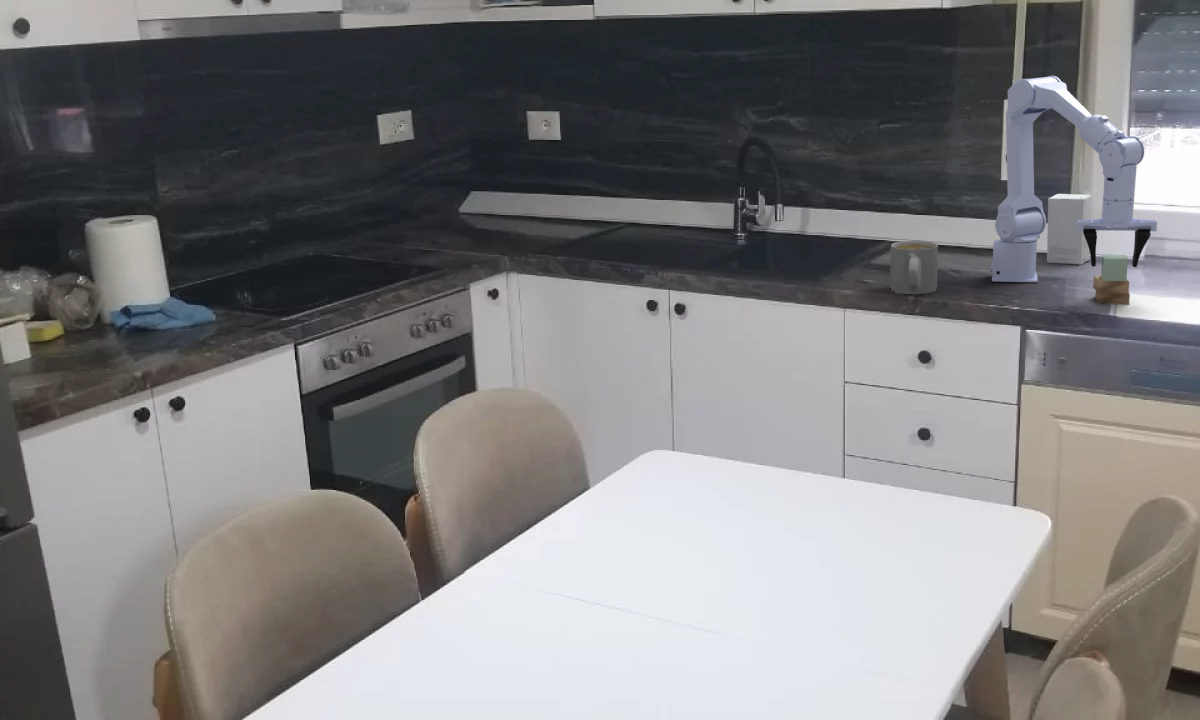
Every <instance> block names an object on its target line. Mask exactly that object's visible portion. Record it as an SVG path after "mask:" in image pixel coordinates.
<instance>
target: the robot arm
mask: <svg viewBox="0 0 1200 720" xmlns="http://www.w3.org/2000/svg"><path fill="white" fill-rule="evenodd" d="M1050 109H1052V110H1054V111H1055V112H1056V113H1058V114H1060V115H1061V116H1062V117H1063V118H1065V119H1066V120H1067V121H1069V122H1070V123H1071V124H1072V125H1074V126H1075V127H1077V128H1078V136H1079V138H1080V139H1081V140H1083V142H1084V143H1086V144H1087V145H1088V146H1090V148H1092V149H1093V151H1095V152H1096V153H1097V154H1098V158H1099V162H1100V164H1101V166H1102V175H1103V177H1104V178H1103V180H1104V181H1103V192H1102V193H1103V195H1102V209H1101V210H1102V211H1101V218H1099V219H1098V218H1096V219H1095V218H1094V219H1091V220H1078V227H1077V230H1078V231H1083V234H1084V237H1085V239H1086V241H1087V244H1088V247H1089V250H1090V260H1091V261H1090V264H1091V267H1092V268H1093V267H1094V268H1095V267H1097V266H1096V265H1097V264H1096V263H1097V255H1096V254H1097V252H1096V251H1097V241H1098V234H1097V233H1098V232H1097V231H1120V232H1121V231H1125V232H1126V231H1127V232H1129V231H1133V232H1134V243H1133V244H1134V245H1133V254H1132V263H1131V266H1132V267H1133V268H1137V266H1138V263H1139V259H1140V257H1141V254H1142V253H1143V250H1144V247H1145V246H1146V244H1147V243H1148V241H1149V239H1150V237H1151V233H1152V232H1157V227H1158V221H1157V220H1156V219H1136V218H1133V217H1134V206H1135V205H1134V204H1135V192H1136V179H1137V178H1136V176H1137V166H1138V165H1139V164H1140V163H1142V161H1143V160H1144V156H1145V147H1144V144H1143V142H1142V141H1141V140H1140V138H1139V137H1137V136H1135V135H1131V136H1128V135H1126V134H1125V132H1124V131H1123V130H1119V129H1118V128H1117V127H1116V126H1115V125H1114V124H1112V123H1111V122H1110V121H1109V120H1110V118H1109V117H1108V116H1106V115H1102V114H1093V115H1092V114H1091V112H1089V110H1087V108H1086V107H1084V105H1082V104H1081V103H1080V102H1079V101H1078V100H1077V99H1076V98H1075V96H1074V95H1073V94H1071V92H1070V91H1068V86H1067V84H1066V82H1064V81H1061V79H1060V78H1059V77H1058V76H1055V75H1049V76H1045V77H1036V78H1035V77H1034V78H1020V79H1017V80H1015V82H1014V83H1013V84H1012V85H1011V86H1010V87H1009V88H1008V89H1007V109H1006V114H1005V131H1006V132H1005V137H1006V138H1005V139H1006V142H1005V143H1006V175H1007V176H1006V177H1007V179H1006V180H1007V181H1006V182H1007V197H1006V198H1005V199H1004V200H1003V201H1002V202H1001V203H1000V204H999V205H998V206H997V216H996V219H995V222H994V223H995V224H994V225H995V231H996V234H997V236H998V237H999V239H993V247H992V250H993V251H992V263H991V265H990V273H991V282H993V283H995V282H996V283H997V282H998V283H999V282H1001V283H1038V272H1036V271H1037V269H1036V268H1037V250H1038V249H1037V248H1038V239H1040V235H1042V233H1043V232H1044V231H1045V229H1046V227H1047V217H1046V214H1045V212H1044V207H1043V205H1044V204H1043V201H1042V200H1041V199H1039V198H1038V197H1037V196H1036V195H1035V171H1034V167H1035V166H1034V163H1035V162H1034V128H1033V127H1034V122H1035V121H1036V120H1037V119H1038V117H1039V116H1040V115H1042V114H1043V113H1044V112H1046V111H1048V110H1050Z"/></svg>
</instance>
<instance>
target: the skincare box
mask: <svg viewBox="0 0 1200 720" xmlns="http://www.w3.org/2000/svg"><path fill="white" fill-rule="evenodd" d="M1092 197H1093V195H1092V194H1079V193H1078V194H1075V193H1073V194H1071V193H1057V194H1055V195H1053V196H1051V197H1048V199H1047V201H1048V202H1047V240H1046V241H1047V247H1046V248H1047V249H1046V251H1047V252H1046V262H1047V263H1049V264H1050V263H1051V264H1067V265H1077V264H1078V265H1079V266H1081V265H1083V264H1085V263H1086V261H1087V262H1088V261H1090V260H1091V255H1090V250H1089V247H1088V244H1087V241H1086V239H1085V237H1084V234H1083V231H1078V230H1077V227H1078V220H1092V205H1093V204H1092V202H1093V201H1092V200H1093V199H1092ZM1084 262H1085V263H1084Z"/></svg>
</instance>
